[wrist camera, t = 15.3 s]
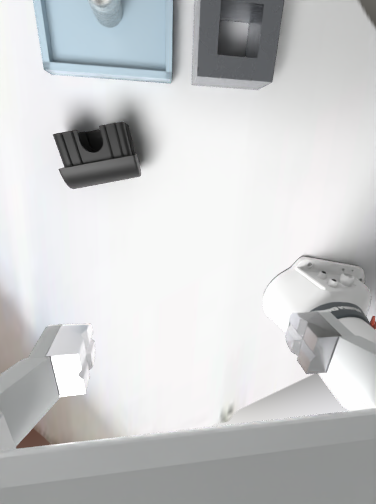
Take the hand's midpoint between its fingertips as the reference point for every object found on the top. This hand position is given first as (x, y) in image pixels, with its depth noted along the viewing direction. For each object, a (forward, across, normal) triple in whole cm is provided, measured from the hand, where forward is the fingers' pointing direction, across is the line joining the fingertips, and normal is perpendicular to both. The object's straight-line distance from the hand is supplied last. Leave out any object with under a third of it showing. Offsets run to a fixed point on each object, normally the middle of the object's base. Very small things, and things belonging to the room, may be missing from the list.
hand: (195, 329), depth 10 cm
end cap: (+34, +9, -5) cm, 36 cm away
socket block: (+34, -9, -20) cm, 41 cm away
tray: (+34, +7, -22) cm, 41 cm away
